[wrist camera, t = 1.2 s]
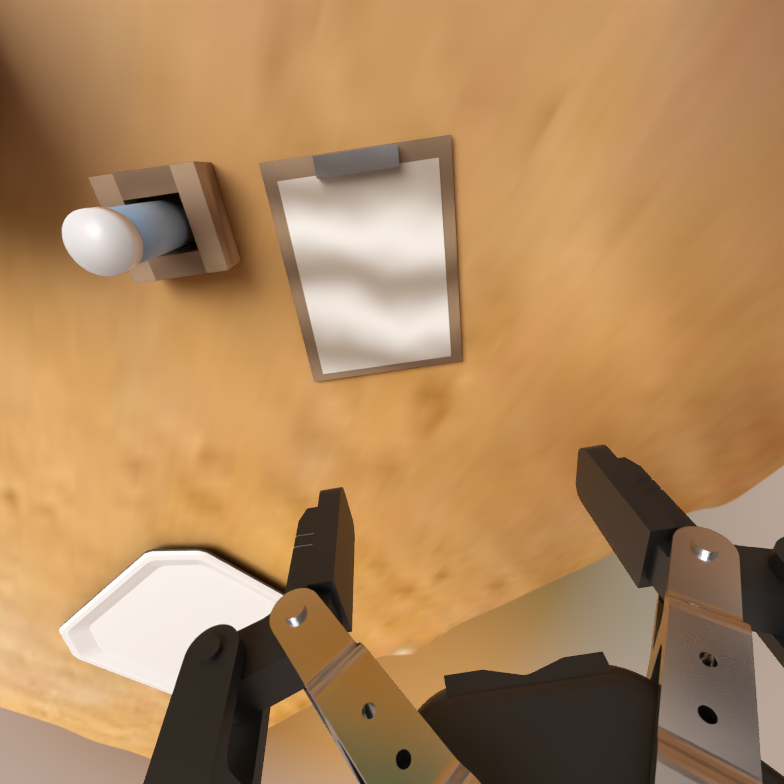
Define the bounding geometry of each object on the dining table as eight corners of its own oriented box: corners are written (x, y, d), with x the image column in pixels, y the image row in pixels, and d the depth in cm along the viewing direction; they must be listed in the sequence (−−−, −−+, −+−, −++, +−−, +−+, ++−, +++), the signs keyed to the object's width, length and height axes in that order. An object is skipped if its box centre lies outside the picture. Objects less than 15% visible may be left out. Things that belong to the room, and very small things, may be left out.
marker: (151, 200, 30) (48, 213, 20) (196, 193, 30) (114, 204, 20) (169, 247, 32) (81, 280, 22) (211, 240, 32) (143, 271, 22)
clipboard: (260, 163, 29) (255, 163, 28) (449, 135, 29) (454, 133, 28) (314, 379, 38) (312, 387, 37) (460, 358, 38) (464, 365, 37)
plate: (354, 621, 57) (354, 636, 55) (228, 699, 66) (224, 715, 64) (176, 518, 46) (168, 533, 44) (51, 629, 54) (39, 646, 52)
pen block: (117, 176, 29) (87, 177, 26) (211, 162, 29) (193, 161, 26) (156, 273, 33) (134, 283, 30) (241, 261, 33) (228, 270, 30)
